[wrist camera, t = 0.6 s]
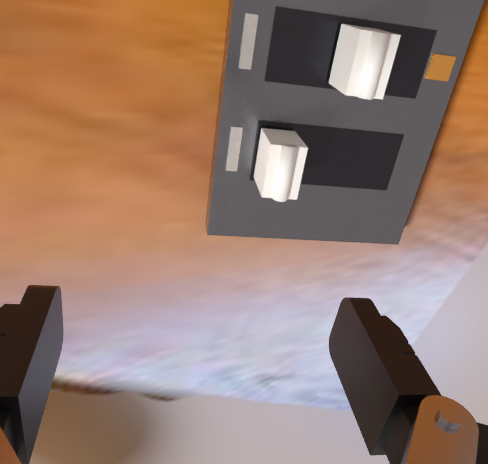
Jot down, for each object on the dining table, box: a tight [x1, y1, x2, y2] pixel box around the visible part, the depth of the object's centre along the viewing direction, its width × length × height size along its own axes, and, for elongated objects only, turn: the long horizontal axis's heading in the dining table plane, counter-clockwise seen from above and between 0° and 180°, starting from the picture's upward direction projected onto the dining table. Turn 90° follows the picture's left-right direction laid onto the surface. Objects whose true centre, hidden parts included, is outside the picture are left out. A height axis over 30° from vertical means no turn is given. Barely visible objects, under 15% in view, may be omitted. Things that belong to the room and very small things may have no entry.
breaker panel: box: [206, 0, 484, 244], centre depth 30 cm, size 28×16×2 cm, turn 172°
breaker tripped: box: [329, 24, 401, 100], centre depth 27 cm, size 4×2×4 cm, turn 172°
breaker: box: [254, 128, 308, 202], centre depth 30 cm, size 4×2×4 cm, turn 172°
